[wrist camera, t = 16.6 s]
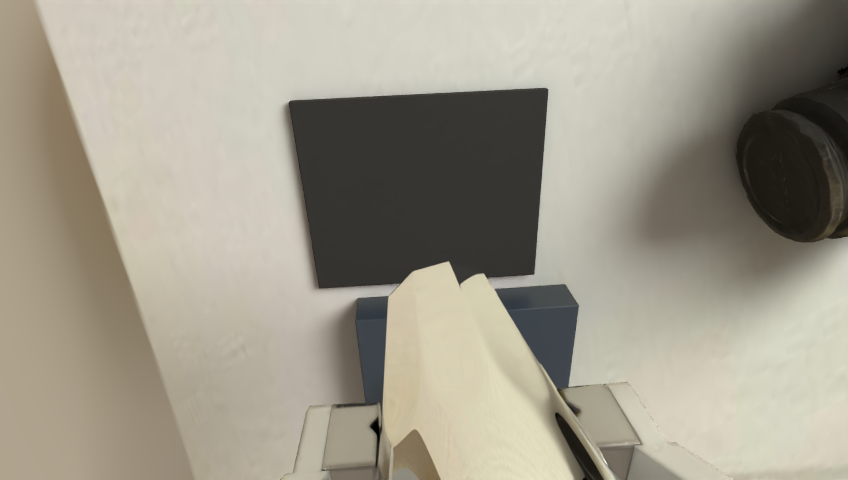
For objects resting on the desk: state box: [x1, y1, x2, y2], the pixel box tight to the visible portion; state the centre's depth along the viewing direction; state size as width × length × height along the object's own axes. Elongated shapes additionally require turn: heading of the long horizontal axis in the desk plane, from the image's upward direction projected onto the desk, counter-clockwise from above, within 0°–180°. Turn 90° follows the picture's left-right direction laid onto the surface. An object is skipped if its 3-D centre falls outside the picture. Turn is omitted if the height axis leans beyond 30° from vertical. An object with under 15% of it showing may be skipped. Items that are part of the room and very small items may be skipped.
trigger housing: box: [355, 285, 579, 421], centre depth 27 cm, size 12×10×4 cm
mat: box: [289, 88, 548, 289], centre depth 23 cm, size 12×10×1 cm
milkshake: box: [375, 261, 620, 480], centre depth 9 cm, size 4×5×10 cm
